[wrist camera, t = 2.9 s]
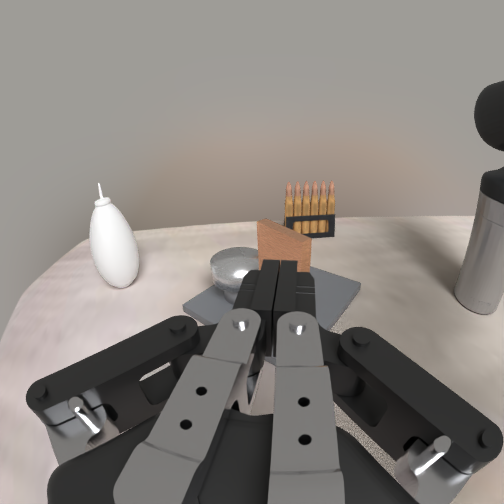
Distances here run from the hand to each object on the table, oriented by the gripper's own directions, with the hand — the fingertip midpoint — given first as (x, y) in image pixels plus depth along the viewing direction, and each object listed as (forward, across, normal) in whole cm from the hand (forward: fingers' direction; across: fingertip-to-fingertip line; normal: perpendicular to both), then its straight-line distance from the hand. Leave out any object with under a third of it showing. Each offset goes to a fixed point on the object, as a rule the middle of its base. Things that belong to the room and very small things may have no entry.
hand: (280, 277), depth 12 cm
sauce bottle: (+22, +28, +18) cm, 40 cm away
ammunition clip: (+44, -3, +17) cm, 47 cm away
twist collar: (+17, +4, +13) cm, 22 cm away
